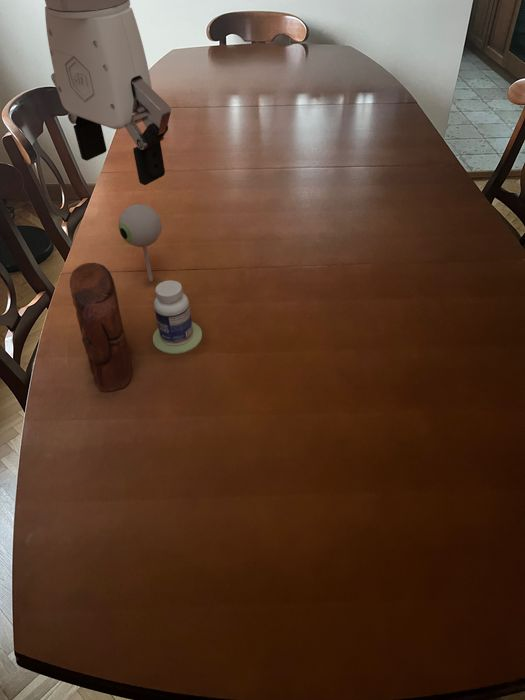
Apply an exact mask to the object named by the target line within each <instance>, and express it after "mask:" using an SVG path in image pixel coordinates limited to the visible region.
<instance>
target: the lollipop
mask: <svg viewBox="0 0 525 700" xmlns="http://www.w3.org/2000/svg"><path fill="white" fill-rule="evenodd" d="M117 226H118V231H119V234H120V236H121V237H122V239H123V240H124V241H125V242H126V243H127V244H129V245H131V246H133V247H137V248H142V251H143V255H144V256H143V257H144V261H145V266H146V270H147V271H146V272H147V275H148V281H149V282H154V277H153V273H152V268H151V262H150V257H149V251H148V247H149V246H152V245H153V244H154V243H155V242H156V241H157V240H158V239H159V237H160V235H161V233H162V226H163V225H162V220H161V218H160V216H159V214H158V212H157V211H156V210H155V209H153V208H152V207H151V206H149V205H147V204H142V203H136V204H132V205H129V206H128V207H126V208H125V209H124V210H123V211H122V212H121V214H120V216H119V219H118V225H117Z"/></svg>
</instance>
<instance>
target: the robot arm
mask: <svg viewBox="0 0 525 700" xmlns="http://www.w3.org/2000/svg"><path fill="white" fill-rule="evenodd" d="M44 3H45V7H44V14H45V15H44V16H45V18H44V19H45V27H46V28H45V29H46V36H47V37H46V38H47V43H48V49H49V55H50V59H51V65H52V69H53V73H51V75H50V78H51V81H52V83H53V85H54V87H55V89H56V91H57V92H58V96H59V101H60V103H61V105H62V107H63V108H64V109H65V110H66V111H67V112H68V113H67V118H68V121H69V123H70V124H72V125H73V126H72V127H73V130H74V134H75V138H76V142H77V146H78V150H79V154H80V157H81V159H82V160H84V161H87V162H88V161H90V160H92V159H94V158H96V157H99V156H101V155H103V154H105V153H107V145H106V140H105V137H104V136H105V135H104V132H103V127H107V128H108V129H109V128H110V129H113V130H122V129H124V128H125V129H126V131H127V133H128V135H130V137H131V139H132V141H133V142H134V144H135V145H136V147H133V148H132V151H133V156H134V157H133V158H134V162H135V166H136V172H137V178H138V181H139V184H141V185H143V186H147V185H149V184H150V183H152V182H153V183H154V182H155V181H156V180H158V179H160V178H162V177H164V176H165V174H166V168H165V164H164V157H163V150H162V143H161V142H162V141H164V139H165V135H166V133H167V132H168V130H169V121H170V118H171V113H172V110H171V109H172V108H171V107H170V105H169V104H168V103H167V102H166V101H165V100H164V99H163V98H162V97H161V96H160V95H159V94H158V93H157V92H156V91H155V90H154V89H153V87H152V86H153V85H152V81H151V76H150V70H149V66H148V65H149V64H148V61H147V57H146V53H145V49H144V44H143V40H142V37H141V33H140V30H139V26H138V23H137V19H136V17H135V14H134V10H133V8H132V7H131V0H44ZM139 123H143V124H144V126H145V130H144V131H143V132H142V131H141V128H139V126H138V124H139ZM102 126H103V127H102Z"/></svg>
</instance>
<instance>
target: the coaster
mask: <svg viewBox="0 0 525 700" xmlns="http://www.w3.org/2000/svg"><path fill="white" fill-rule="evenodd" d="M192 326H193V336H192V338H191V339H190V340H189V341H188V342H187V343H185V344H182V345H179V346H171V345H167V344H165V343H164V342H163V341H162V340H161V337H160V333H159V328H158V327H157V328H156V330H155V331H154V333H153V335H152V344H153V346H154V347H155V348H156V349H157V350H158V351H160V352H162V353H165V354H169V355H179V354H180V355H181V354H184V353H187V352H190V351H192V350H193V349H195V348H196V347H198V345H200V343H201V341H202V339H203V331H202V329H201V327H200V326H199V325H198V324H197V323H196V322H193V321H192Z"/></svg>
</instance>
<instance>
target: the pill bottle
mask: <svg viewBox="0 0 525 700" xmlns="http://www.w3.org/2000/svg"><path fill="white" fill-rule="evenodd" d="M155 296H156V297H155V298H154V301H153V309H154V314H155V318H156V323H157V329H158V328H159V333H160V337H161V340H162V341H163V342H164V343H165V344H167V345H171V346H179V345H182V344H185V343H187V342H188V341H189V340H190V339H191V338H192V336H193V326H192V322H193V321H192V314H191V308H190V301H189V298H188V296H187V295H186V294H185V293H184V290H183V287H182V284H181V283H180V281H177V280H171V279H169V280H164V281H162V282H159V283H157V285H156V287H155Z"/></svg>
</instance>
